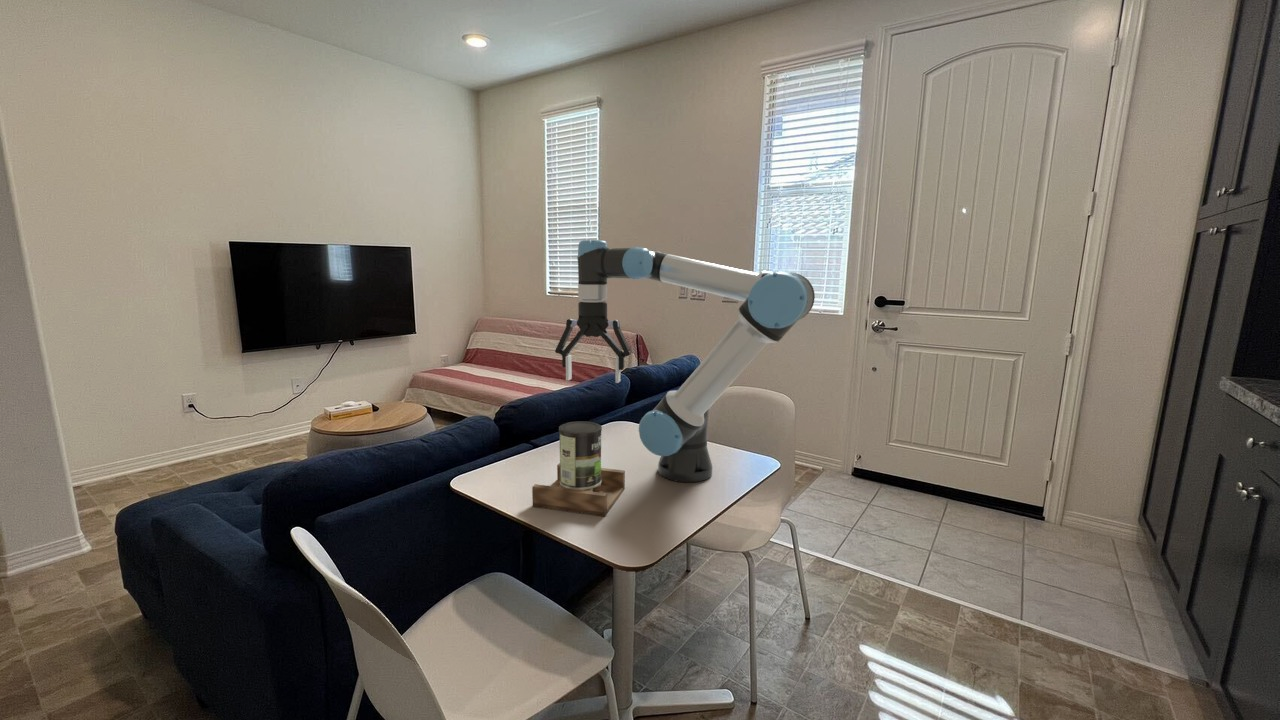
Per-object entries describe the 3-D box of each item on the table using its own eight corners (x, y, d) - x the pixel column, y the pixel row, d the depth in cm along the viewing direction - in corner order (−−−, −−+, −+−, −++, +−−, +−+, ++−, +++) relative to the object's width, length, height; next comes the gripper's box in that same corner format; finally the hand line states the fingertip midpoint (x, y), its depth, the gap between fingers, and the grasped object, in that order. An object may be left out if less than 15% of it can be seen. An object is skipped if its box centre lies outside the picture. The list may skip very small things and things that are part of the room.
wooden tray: (624, 489, 133) (624, 470, 133) (604, 516, 118) (605, 496, 117) (559, 480, 138) (559, 462, 137) (532, 506, 123) (532, 486, 122)
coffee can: (606, 476, 131) (606, 422, 129) (594, 492, 121) (595, 434, 119) (567, 472, 133) (567, 419, 131) (553, 488, 123) (552, 431, 121)
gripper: (642, 301, 137) (641, 380, 140) (552, 299, 141) (553, 375, 145) (636, 302, 129) (636, 385, 133) (542, 300, 134) (543, 381, 137)
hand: (593, 380), depth 139 cm, fingers open, 13 cm apart
